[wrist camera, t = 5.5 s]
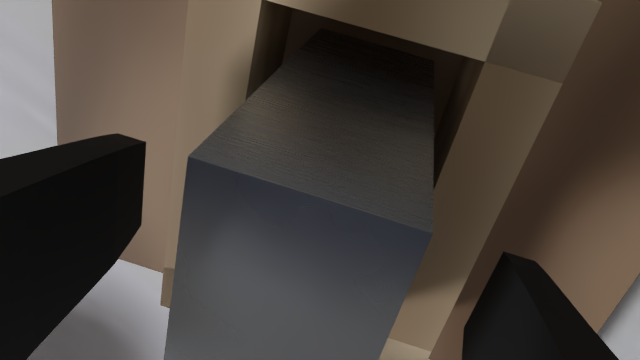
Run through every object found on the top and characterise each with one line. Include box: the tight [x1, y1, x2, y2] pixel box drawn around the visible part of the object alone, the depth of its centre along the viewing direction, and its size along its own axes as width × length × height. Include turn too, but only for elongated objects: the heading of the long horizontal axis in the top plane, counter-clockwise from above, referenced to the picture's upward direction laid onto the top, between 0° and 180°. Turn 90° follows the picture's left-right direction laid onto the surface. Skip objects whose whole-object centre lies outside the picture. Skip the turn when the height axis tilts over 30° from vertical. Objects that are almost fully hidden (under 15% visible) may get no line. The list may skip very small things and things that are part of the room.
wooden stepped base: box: [52, 0, 640, 360], centre depth 14 cm, size 18×14×4 cm
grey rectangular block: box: [164, 28, 434, 360], centre depth 11 cm, size 3×6×8 cm, turn 167°
